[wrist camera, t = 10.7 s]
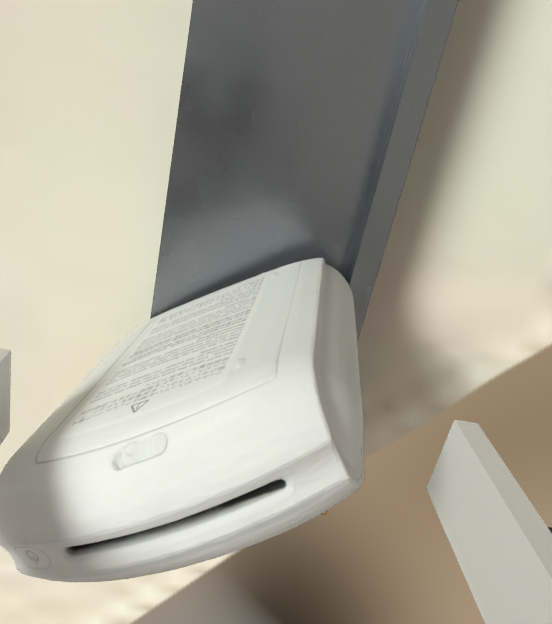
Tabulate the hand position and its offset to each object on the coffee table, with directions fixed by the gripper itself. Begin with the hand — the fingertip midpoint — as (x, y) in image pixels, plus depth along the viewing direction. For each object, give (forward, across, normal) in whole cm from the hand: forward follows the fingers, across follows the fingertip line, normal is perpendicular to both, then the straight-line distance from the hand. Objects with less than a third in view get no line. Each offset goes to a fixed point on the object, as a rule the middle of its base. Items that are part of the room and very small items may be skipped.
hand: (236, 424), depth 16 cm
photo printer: (+8, 0, -1) cm, 8 cm away
